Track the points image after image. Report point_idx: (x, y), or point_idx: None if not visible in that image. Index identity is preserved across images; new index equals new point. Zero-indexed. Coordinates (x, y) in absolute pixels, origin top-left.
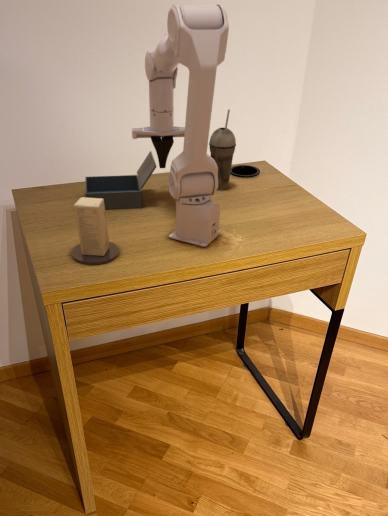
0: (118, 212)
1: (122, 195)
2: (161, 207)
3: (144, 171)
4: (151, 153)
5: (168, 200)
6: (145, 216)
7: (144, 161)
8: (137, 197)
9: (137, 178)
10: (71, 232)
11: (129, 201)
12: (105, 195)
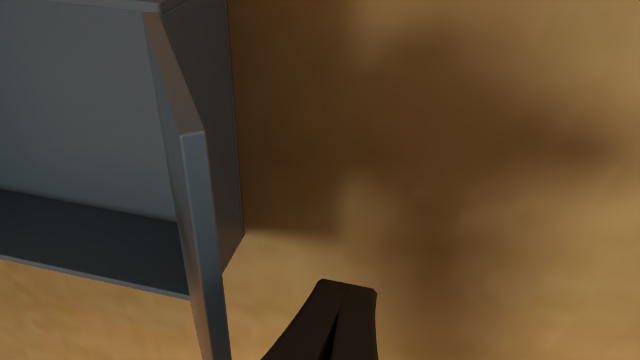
0: None
1: (112, 267)
2: (350, 257)
3: (187, 262)
4: (199, 238)
5: (417, 187)
6: (258, 310)
7: (163, 105)
8: None
9: None
10: (10, 325)
11: (166, 249)
12: (24, 251)
